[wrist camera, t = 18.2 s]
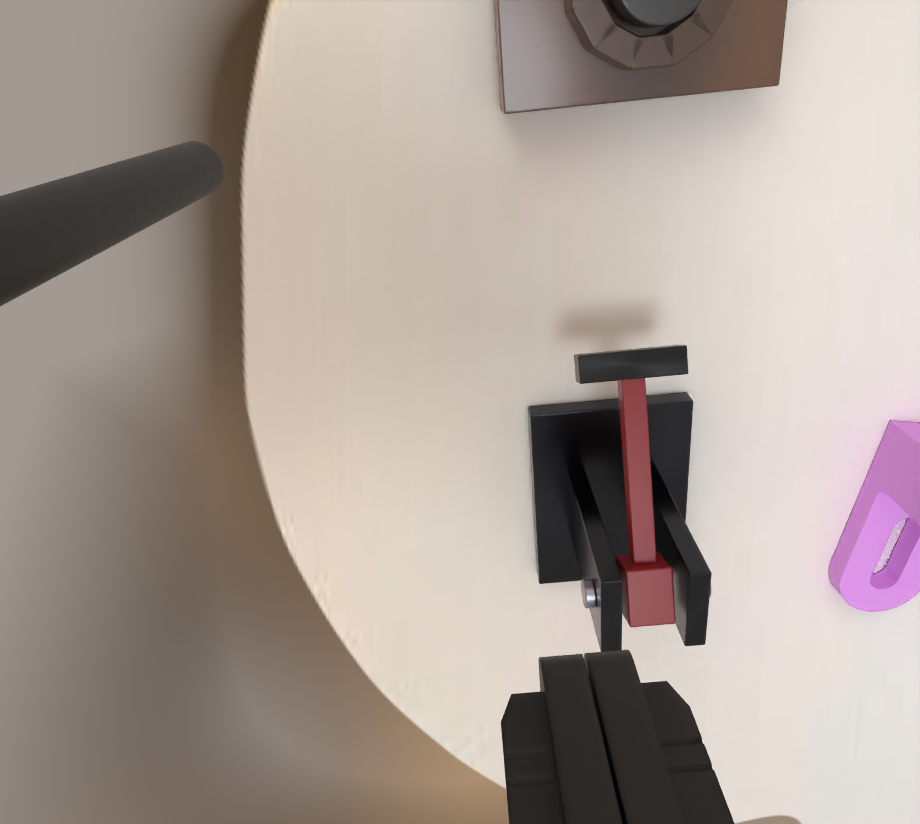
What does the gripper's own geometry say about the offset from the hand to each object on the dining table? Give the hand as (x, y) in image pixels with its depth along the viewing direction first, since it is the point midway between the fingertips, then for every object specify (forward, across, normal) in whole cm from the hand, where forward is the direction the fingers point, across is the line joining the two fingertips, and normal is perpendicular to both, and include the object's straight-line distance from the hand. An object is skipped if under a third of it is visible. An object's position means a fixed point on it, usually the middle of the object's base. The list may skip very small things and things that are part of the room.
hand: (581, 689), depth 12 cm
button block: (+27, -7, -12) cm, 30 cm away
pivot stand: (+27, -6, +14) cm, 31 cm away
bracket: (+27, -24, +18) cm, 40 cm away
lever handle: (+21, -6, +10) cm, 24 cm away
